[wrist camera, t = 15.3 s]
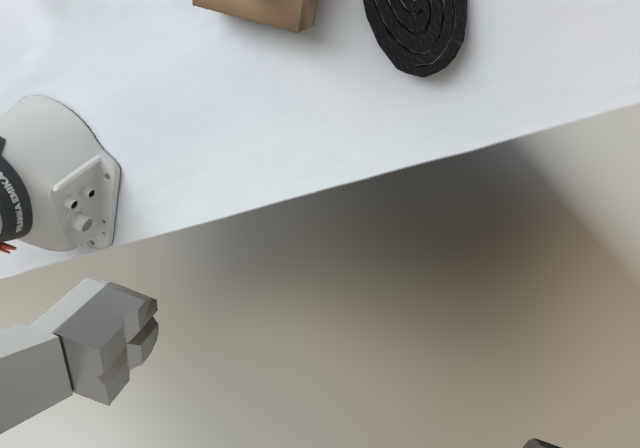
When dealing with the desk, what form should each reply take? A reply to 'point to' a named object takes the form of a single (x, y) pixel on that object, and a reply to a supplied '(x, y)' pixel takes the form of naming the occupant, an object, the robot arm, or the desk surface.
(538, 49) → the desk surface
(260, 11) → the lever base
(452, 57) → the hairbrush
